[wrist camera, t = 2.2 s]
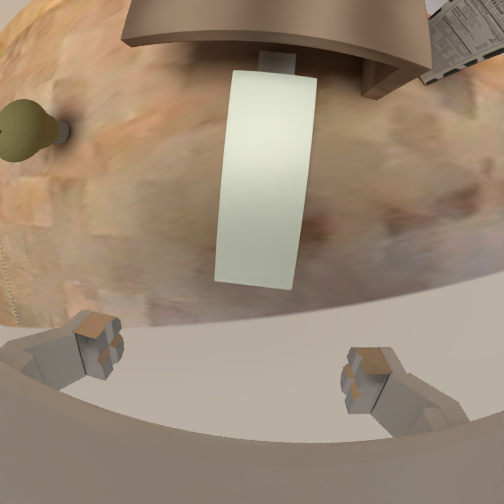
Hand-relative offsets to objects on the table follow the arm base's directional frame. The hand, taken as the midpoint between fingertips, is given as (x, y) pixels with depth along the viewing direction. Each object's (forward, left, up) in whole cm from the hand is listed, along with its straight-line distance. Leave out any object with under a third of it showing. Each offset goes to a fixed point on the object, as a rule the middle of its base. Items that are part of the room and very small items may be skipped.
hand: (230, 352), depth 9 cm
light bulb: (+21, -9, -17) cm, 28 cm away
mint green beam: (0, -5, -17) cm, 17 cm away
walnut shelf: (0, -19, -17) cm, 25 cm away
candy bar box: (-16, -22, -17) cm, 32 cm away
